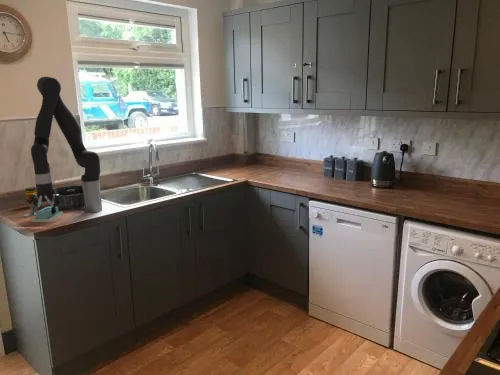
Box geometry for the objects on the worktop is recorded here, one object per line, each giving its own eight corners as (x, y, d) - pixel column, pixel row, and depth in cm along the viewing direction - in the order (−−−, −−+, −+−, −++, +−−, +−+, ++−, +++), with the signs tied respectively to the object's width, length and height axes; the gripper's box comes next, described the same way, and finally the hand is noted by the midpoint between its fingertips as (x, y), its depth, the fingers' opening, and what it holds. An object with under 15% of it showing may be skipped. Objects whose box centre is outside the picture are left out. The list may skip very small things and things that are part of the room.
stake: (31, 213, 227) (29, 202, 225) (45, 213, 226) (43, 202, 225) (22, 218, 219) (20, 206, 218) (36, 218, 218) (35, 206, 217)
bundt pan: (93, 210, 231) (91, 193, 229) (41, 214, 226) (39, 196, 223) (99, 199, 256) (97, 183, 254) (53, 202, 251) (51, 186, 249)
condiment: (27, 210, 233) (24, 189, 231) (25, 207, 240) (22, 187, 238) (41, 208, 238) (39, 188, 235) (38, 205, 244) (36, 185, 242)
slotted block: (48, 213, 220) (48, 206, 219) (58, 214, 220) (58, 206, 219) (36, 219, 209) (36, 211, 208) (47, 219, 209) (46, 212, 208)
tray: (47, 216, 222) (47, 211, 221) (63, 216, 221) (62, 211, 220) (32, 223, 208) (32, 219, 208) (49, 224, 208) (48, 219, 207)
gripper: (61, 180, 213) (64, 212, 217) (34, 180, 214) (38, 211, 218) (53, 183, 206) (57, 216, 210) (25, 183, 207) (30, 215, 211)
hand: (47, 213), depth 214 cm, fingers open, 6 cm apart
